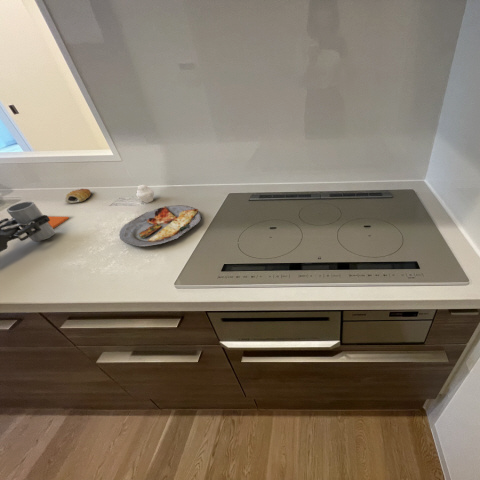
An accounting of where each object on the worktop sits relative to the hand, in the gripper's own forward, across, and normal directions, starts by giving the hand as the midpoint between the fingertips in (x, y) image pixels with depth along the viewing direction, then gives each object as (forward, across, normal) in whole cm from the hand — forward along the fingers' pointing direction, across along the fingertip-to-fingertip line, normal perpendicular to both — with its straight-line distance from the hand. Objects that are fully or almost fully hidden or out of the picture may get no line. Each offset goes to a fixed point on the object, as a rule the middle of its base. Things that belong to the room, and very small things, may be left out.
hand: (39, 216), depth 85 cm
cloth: (+4, +8, +7) cm, 12 cm away
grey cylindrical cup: (-2, 0, +6) cm, 6 cm away
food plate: (+11, -36, +7) cm, 38 cm away
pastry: (+22, +14, +7) cm, 28 cm away
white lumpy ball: (+27, -16, +7) cm, 32 cm away
